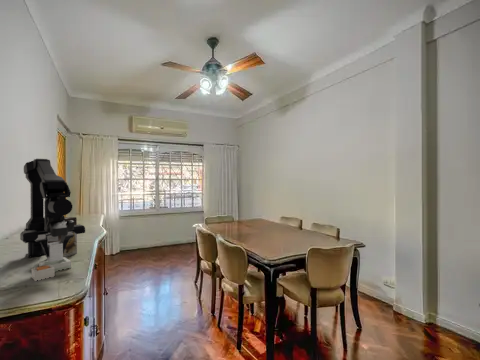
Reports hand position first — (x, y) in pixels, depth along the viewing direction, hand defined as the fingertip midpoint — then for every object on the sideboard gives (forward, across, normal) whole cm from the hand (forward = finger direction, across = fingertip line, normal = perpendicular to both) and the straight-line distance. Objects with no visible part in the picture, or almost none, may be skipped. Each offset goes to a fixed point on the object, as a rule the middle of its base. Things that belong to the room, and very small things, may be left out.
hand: (54, 255), depth 96 cm
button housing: (+5, -5, -7) cm, 10 cm away
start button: (+3, -5, -7) cm, 9 cm away
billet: (+1, 0, 0) cm, 1 cm away
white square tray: (+5, 0, 0) cm, 5 cm away
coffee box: (+5, +6, +16) cm, 18 cm away
